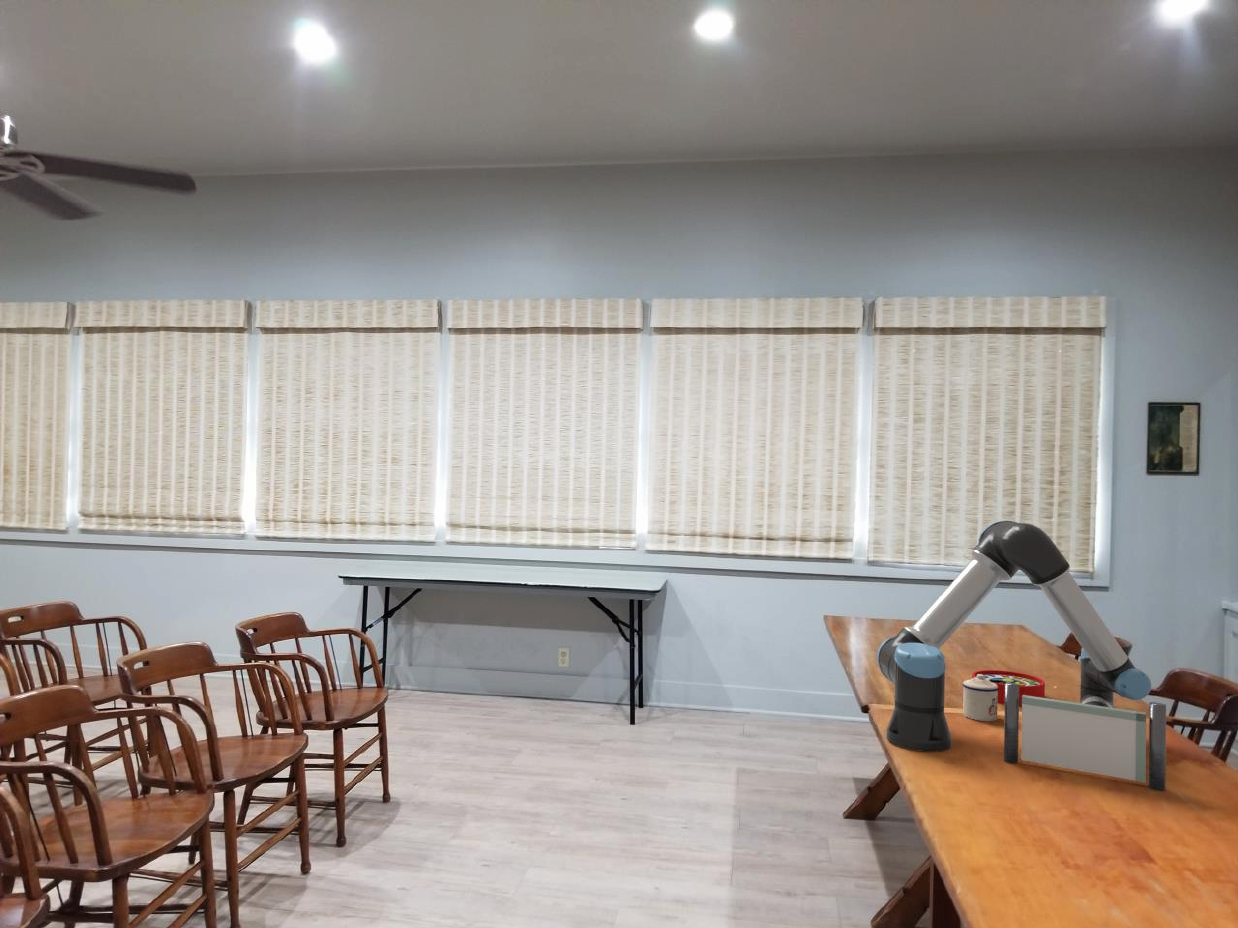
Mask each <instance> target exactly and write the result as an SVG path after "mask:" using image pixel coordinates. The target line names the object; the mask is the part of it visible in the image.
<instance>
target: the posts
mask: <svg viewBox="0 0 1238 928" xmlns="http://www.w3.org/2000/svg"><path fill="white" fill-rule="evenodd" d="M1148 708H1149V709H1148V710H1149V715H1148V716H1149V718H1148V719H1149V720H1148V722H1149V723H1148V724H1149V725H1148V738H1149V739H1148V788H1149V789H1151V790H1154V791H1159V792H1165V791H1166V783H1167V782H1166V781H1167V780H1166V777H1167V776H1166V775H1167V774H1166V772H1167V771H1166V769H1167V704H1166V703H1162V702H1158V701H1157V702H1156V701H1155V702H1154V701H1152V702H1151V701H1150V702H1149V707H1148ZM1019 720H1020V706H1019V684H1016V683H1010V682H1007V683H1005V704H1004V721H1003V723H1004V724H1003V725H1004V729H1003V732H1004V733H1003V734H1004V735H1003V741H1004V742H1003V761H1004V762H1005V763H1008V764H1012V765H1013V764H1015V765H1017V764H1019V742H1020V740H1019V739H1020V738H1019V737H1020V735H1019V734H1020V733H1019V732H1020V729H1019V728H1020V727H1019V725H1020V721H1019Z"/></svg>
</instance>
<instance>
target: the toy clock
mask: <svg viewBox="0 0 1238 928" xmlns="http://www.w3.org/2000/svg"><path fill="white" fill-rule="evenodd" d="M977 674H982V675H984V678H985V679H987V680H989V681H990V682H992V683H995V684H996V685H997V686H998V688H999V689H998V693H997V704H1003V705H1005V683H1007V682H1010V683H1016V684H1019V707H1020V706H1021V707H1022V696H1023V695H1027V696H1034V697H1041V698H1045V697H1046V695H1045V694H1046V692H1045V690H1046V686H1045V685H1046V684H1045V680H1044V679H1042V678H1040V677H1038V676H1034V675H1031V674H1029V673H1028V674H1027V673H1022V672H1017V671H1016V672H1015V671H1010V670H1001V669H999V670H998V669H997V670H996V669H985V670H983V669H982V670H977V671H974V672H972V674H971V679H972V678H976V677H977Z"/></svg>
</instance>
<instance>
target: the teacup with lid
mask: <svg viewBox="0 0 1238 928" xmlns="http://www.w3.org/2000/svg"><path fill="white" fill-rule="evenodd" d="M962 686H963V690H962V691H963V697H962V698H963V699H962V701H963V706H962V707H963V708H962V714H963V716H964V717H965V718H967V717H968V719H970V720H973V719H974V720H973V721H978V722H979V721H980V722H993V721H996V720H997V719H998V703H997V693H998V689H999V688H998V686H997V685H996V684H995V683H992V682H990V681H989V680H987V679H985V678H984V675H982V674H977V677H976V678H972V677H971V679H967V680H964V681H963V682H962Z"/></svg>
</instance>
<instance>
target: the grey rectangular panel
mask: <svg viewBox="0 0 1238 928" xmlns="http://www.w3.org/2000/svg"><path fill="white" fill-rule="evenodd" d="M1020 751H1021V754H1020V755H1021V758H1020V759H1021V761H1025V762H1030V763H1036V764H1041V765H1047V766H1053V767H1058V768H1064V769H1068V770H1074V771H1080V772H1085V773H1090V774H1097V775H1101V776H1107V777H1114V778H1118V779H1123V780H1129V781H1135V782H1139V783H1144V784H1146V780H1147V779H1146V778H1147V777H1146V774H1147V773H1146V772H1147V769H1146V768H1147V767H1146V766H1147V764H1146V763H1147V762H1146V761H1147V760H1146V759H1147V712H1145V711H1138V710H1131V709H1123V708H1117V707H1114V708H1110V707H1104V706H1097V705H1090V704H1083V703H1080V702H1076V701H1066V700H1059V699H1052V698H1047V697H1046V698H1041V697H1034V696H1027V695H1023V696H1022V706H1021V750H1020Z"/></svg>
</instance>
